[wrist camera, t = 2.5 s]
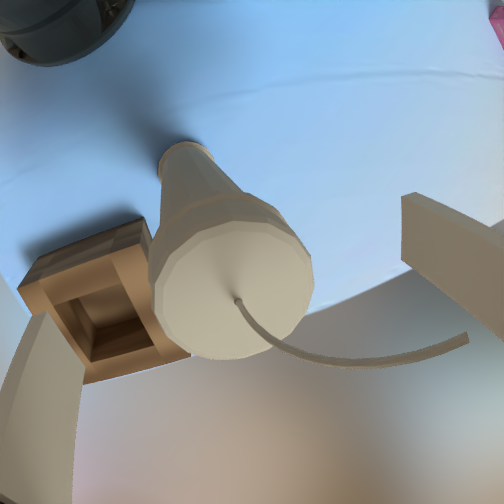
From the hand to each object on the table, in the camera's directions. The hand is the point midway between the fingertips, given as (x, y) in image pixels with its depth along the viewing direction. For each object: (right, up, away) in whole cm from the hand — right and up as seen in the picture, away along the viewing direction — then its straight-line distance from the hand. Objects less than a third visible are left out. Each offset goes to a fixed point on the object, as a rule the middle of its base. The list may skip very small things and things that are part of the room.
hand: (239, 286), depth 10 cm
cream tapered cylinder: (-6, +10, +20) cm, 24 cm away
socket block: (-16, -3, +24) cm, 29 cm away
